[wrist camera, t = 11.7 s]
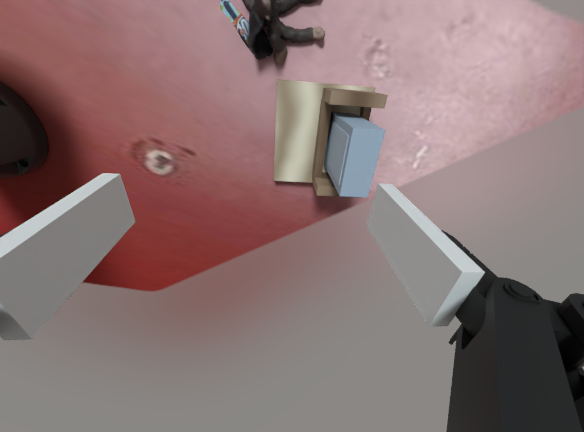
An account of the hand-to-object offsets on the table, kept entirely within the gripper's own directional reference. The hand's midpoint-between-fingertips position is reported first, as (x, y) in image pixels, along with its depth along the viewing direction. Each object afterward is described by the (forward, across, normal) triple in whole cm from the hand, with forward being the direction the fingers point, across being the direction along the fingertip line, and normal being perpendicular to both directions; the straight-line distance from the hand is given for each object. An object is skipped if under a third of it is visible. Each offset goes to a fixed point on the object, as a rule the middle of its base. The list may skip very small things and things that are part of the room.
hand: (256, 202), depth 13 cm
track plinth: (+28, +9, -3) cm, 29 cm away
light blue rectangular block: (+26, +12, -3) cm, 29 cm away
